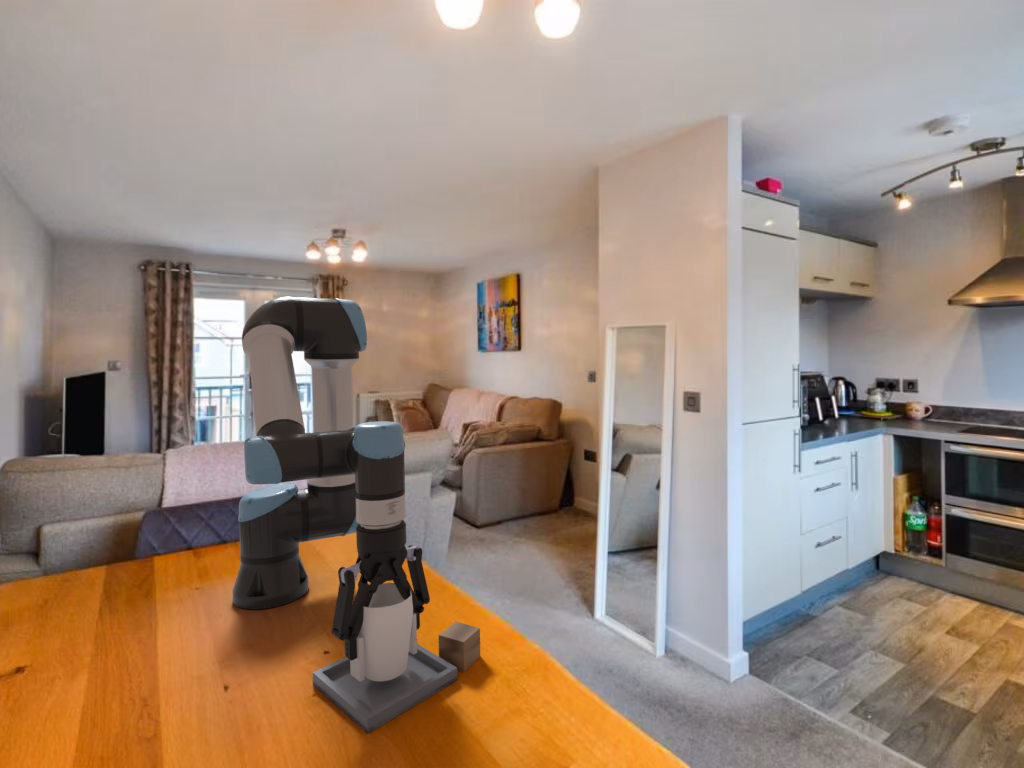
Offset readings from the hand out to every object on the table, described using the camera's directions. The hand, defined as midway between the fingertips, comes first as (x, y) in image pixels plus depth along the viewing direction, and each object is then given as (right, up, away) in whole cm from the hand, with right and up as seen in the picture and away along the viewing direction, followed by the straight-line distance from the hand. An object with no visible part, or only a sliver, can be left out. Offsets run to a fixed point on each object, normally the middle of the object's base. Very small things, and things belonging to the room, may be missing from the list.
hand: (385, 663), depth 82 cm
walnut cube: (+11, -3, +6) cm, 13 cm away
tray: (0, -3, 0) cm, 3 cm away
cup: (0, -1, 0) cm, 1 cm away
